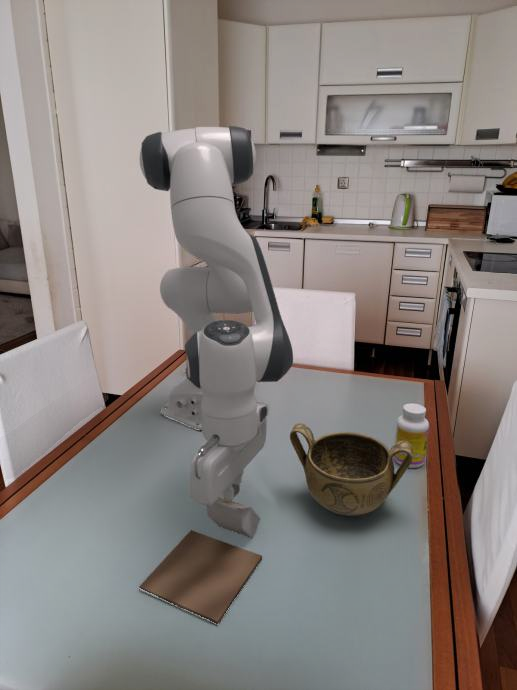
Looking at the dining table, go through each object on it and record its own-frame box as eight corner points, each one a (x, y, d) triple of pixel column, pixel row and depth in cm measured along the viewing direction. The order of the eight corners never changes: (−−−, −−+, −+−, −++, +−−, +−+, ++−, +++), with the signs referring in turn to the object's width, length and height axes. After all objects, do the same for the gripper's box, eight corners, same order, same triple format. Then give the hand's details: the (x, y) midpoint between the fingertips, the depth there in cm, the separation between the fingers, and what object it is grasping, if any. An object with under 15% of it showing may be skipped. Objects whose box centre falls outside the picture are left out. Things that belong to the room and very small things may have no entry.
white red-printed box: (252, 538, 86) (234, 520, 78) (219, 527, 89) (199, 508, 81) (260, 518, 88) (243, 498, 80) (227, 507, 91) (208, 487, 83)
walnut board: (139, 590, 76) (139, 586, 75) (191, 533, 87) (191, 529, 87) (217, 625, 70) (217, 621, 69) (262, 559, 81) (262, 555, 81)
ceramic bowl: (277, 517, 91) (278, 446, 86) (301, 468, 106) (303, 405, 101) (402, 545, 84) (411, 470, 79) (409, 488, 99) (416, 421, 94)
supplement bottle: (426, 470, 105) (433, 416, 101) (394, 467, 106) (399, 414, 102) (423, 454, 111) (429, 402, 107) (392, 451, 112) (397, 400, 108)
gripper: (213, 459, 69) (217, 540, 73) (272, 401, 86) (272, 469, 91) (176, 449, 71) (181, 528, 76) (240, 395, 89) (242, 461, 93)
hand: (231, 495), depth 84 cm, fingers closed
